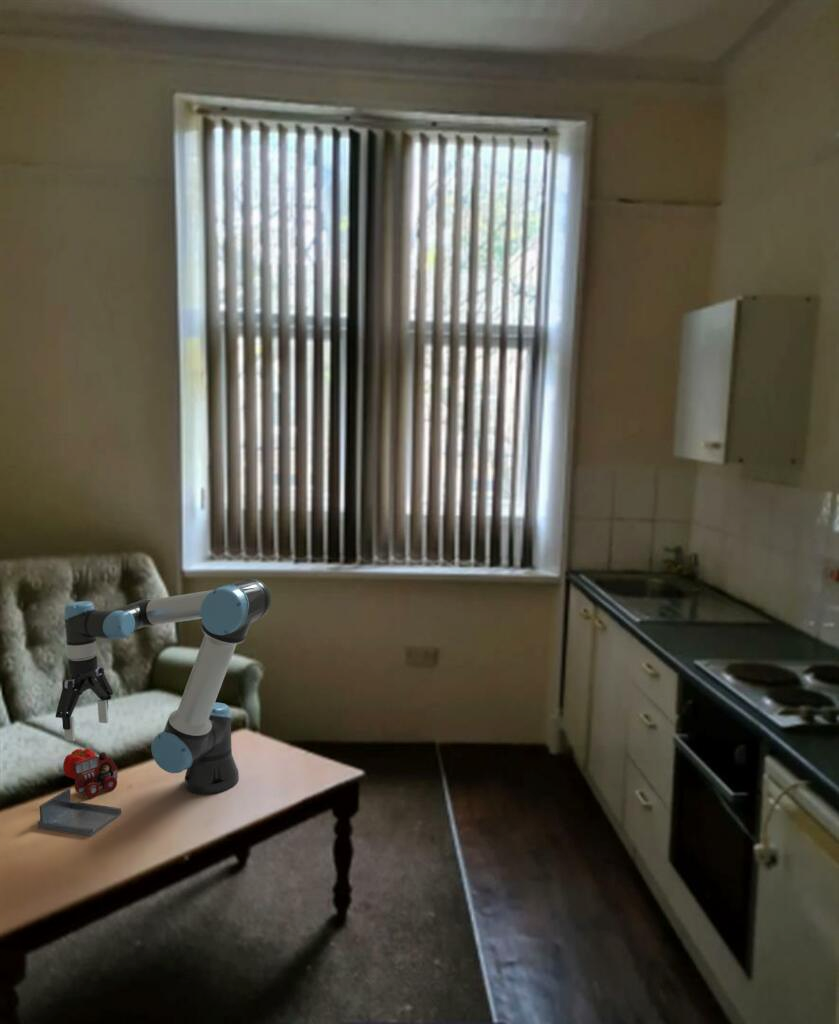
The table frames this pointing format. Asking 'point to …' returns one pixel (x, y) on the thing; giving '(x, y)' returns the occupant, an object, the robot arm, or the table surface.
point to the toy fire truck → (95, 775)
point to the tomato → (75, 760)
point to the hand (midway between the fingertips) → (87, 731)
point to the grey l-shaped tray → (75, 815)
